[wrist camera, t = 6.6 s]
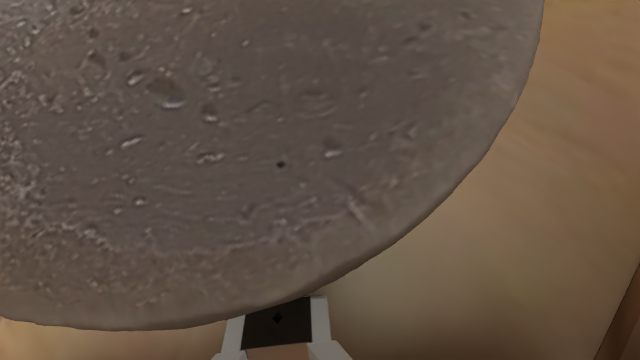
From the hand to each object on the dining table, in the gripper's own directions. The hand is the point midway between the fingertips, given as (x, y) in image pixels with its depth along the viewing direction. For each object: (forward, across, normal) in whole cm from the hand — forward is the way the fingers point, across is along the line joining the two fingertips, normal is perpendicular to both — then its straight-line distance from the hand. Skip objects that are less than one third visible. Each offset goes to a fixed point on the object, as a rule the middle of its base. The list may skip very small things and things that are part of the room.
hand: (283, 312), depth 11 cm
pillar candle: (+8, 0, 0) cm, 8 cm away
